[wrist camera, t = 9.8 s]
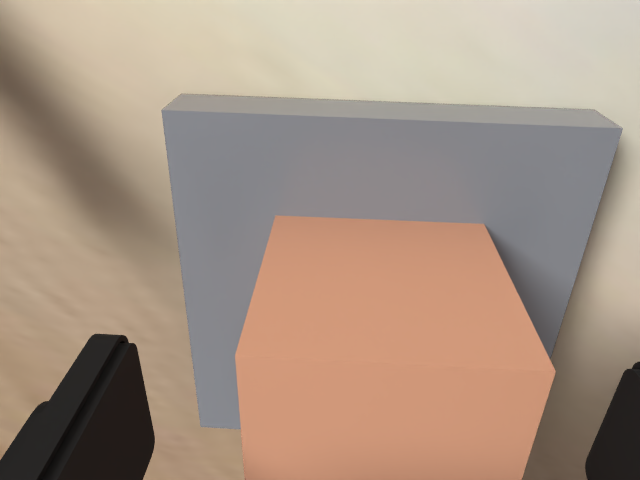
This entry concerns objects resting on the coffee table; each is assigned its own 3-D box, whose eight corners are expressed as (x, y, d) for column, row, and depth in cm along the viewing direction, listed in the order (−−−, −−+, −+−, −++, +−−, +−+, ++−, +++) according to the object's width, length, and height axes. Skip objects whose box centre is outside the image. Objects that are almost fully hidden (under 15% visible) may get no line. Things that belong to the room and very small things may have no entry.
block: (181, 93, 13) (161, 109, 11) (594, 109, 12) (623, 128, 11) (211, 391, 18) (200, 426, 16) (509, 408, 17) (522, 446, 16)
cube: (275, 215, 13) (235, 355, 8) (484, 224, 12) (555, 371, 8) (279, 370, 15) (249, 542, 11) (454, 379, 15) (496, 558, 10)
